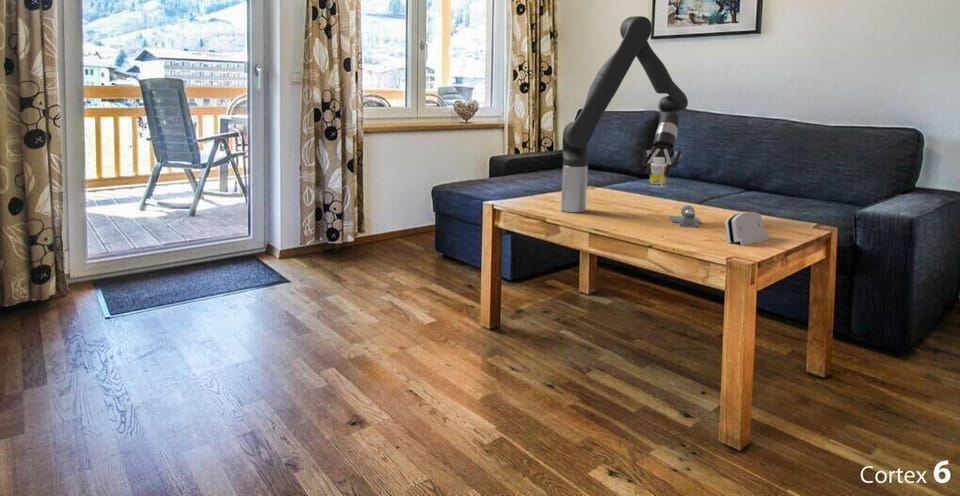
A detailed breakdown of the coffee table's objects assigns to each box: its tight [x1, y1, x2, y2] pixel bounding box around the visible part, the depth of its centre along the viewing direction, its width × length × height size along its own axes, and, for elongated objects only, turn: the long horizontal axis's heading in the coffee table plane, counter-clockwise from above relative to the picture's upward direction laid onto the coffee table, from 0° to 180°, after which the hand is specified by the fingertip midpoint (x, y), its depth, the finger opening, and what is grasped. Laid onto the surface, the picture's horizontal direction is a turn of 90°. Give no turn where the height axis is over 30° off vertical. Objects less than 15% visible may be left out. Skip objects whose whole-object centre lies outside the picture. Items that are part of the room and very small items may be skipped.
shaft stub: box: [678, 204, 700, 228], centre depth 229 cm, size 6×7×6 cm
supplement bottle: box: [649, 157, 667, 188], centre depth 235 cm, size 6×6×10 cm
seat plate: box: [669, 215, 703, 225], centre depth 237 cm, size 10×10×1 cm
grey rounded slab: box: [724, 211, 771, 247], centre depth 208 cm, size 17×5×10 cm, turn 128°
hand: (657, 174), depth 234 cm, fingers closed on supplement bottle, 5 cm apart
